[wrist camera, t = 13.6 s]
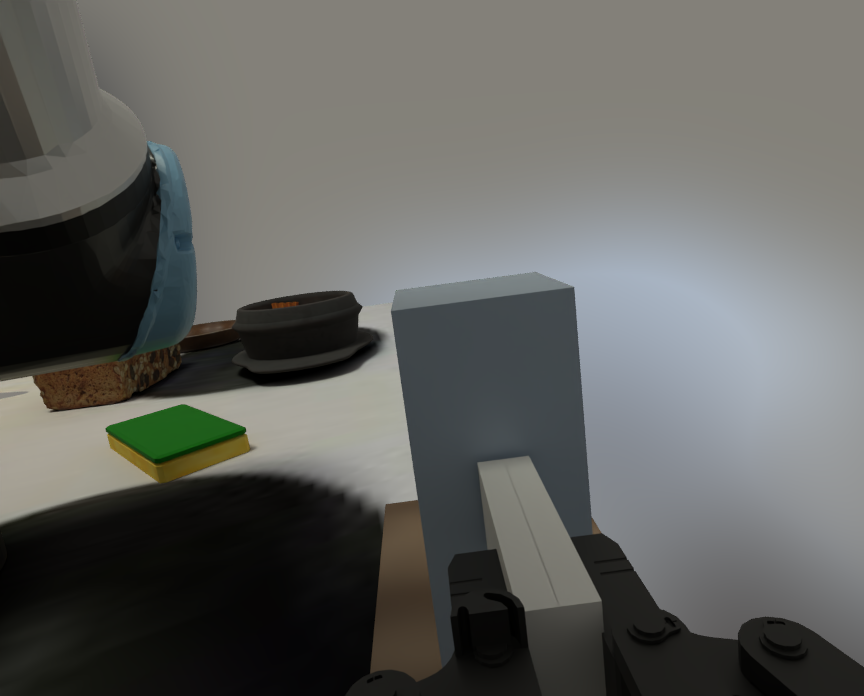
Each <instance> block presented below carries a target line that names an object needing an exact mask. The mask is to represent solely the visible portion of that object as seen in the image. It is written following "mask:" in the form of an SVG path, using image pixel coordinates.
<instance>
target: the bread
mask: <svg viewBox="0 0 864 696" xmlns="http://www.w3.org/2000/svg"><path fill="white" fill-rule="evenodd" d="M180 349H181V347H180V344H179V343H177V344H175V345H173V346H170V347H167V348H163V349H159V350H155V351H151V352H147V353H143V354H139V355H135V356H133V357H132V358H130V359H128V360H126V361H121V362H118V361H114V362H108V363H103V364H97V365H91V366H86V367H80V368H74V369H68V370H63V371H57V372H51V373H46V374H40V375H34V376H32V377H33V379H34V383H35V384H36V386H37V387H38V388H39V389H40V391H41V393H40V396H41V397H42V398H43V402H44V404H45V405H46V406H47V408H49V409H56V410H66V409H74V408H82V407H89V406H98V405H107V404H115V403H118V402H120V401H123V400H127V399H130V397H131V395H132V393H134V392H141V391H143V390H144V389H147V388H148V387H149V386H151V385H153V384H155V383H157V382H159V381H160V380H162V379H164V378H165V377H167V375H168V374H169V373H171V371H174V370H175V369H178V368H179V367H180V364H181V356H180Z"/></svg>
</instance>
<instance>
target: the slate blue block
mask: <svg viewBox="0 0 864 696" xmlns="http://www.w3.org/2000/svg"><path fill="white" fill-rule="evenodd" d="M391 315H392V322H393V328H394V335H395V342H396V349H397V356H398V363H399V370H400V377H401V384H402V391H403V398H404V405H405V412H406V419H407V426H408V433H409V440H410V447H411V454H412V461H413V468H414V475H415V482H416V489H417V496H418V503H419V510H420V517H421V524H422V531H423V538H424V545H425V552H426V559H427V566H428V573H429V580H430V587H431V594H432V601H433V608H434V615H435V622H436V629H437V636H438V642H439V649H440V656H441V663H442V668H443V667H444V666H445V665H446V664H447V663H448V661H449V660H450V659H451V657H452V655H453V652H454V650H455V649H454V642H453V634H452V627H451V620H450V615H451V610H452V607H451V597H450V587H449V577H448V566H449V564H450V563H451V561H452V559H453V557H454V555H455V554H461V553H468V552H476V551H483V550H488V549H487V541H486V532H485V524H484V515H483V507H482V499H481V490H480V482H479V473H478V465H477V462H485V461H492V460H500V459H507V458H515V457H522V456H529V457H530V459H531V461H532V463H533V465H534V467H535V469H536V471H537V473H538V475H539V477H540V479H541V481H542V483H543V485H544V487H545V489H546V491H547V493H548V495H549V497H550V499H551V501H552V503H553V505H554V507H555V509H556V511H557V513H558V515H559V517H560V519H561V521H562V523H563V525H564V527H565V529H566V531H567V533H568V535H569V537H576V536H584V535H592V534H593V532H592V518H591V505H590V492H589V479H588V466H587V452H586V439H585V426H584V413H583V399H582V385H581V373H580V359H579V346H578V332H577V320H576V306H575V293H574V287H573V286H570V285H568V284H565V283H562V282H560V281H557V280H555V279H552V278H549V277H546V276H544V275H542V274H539V273H536V272H533V273H525V274H518V275H510V276H502V277H495V278H487V279H479V280H472V281H465V282H457V283H449V284H442V285H434V286H426V287H419V288H411V289H404V290H396V292H395V296H394V300H393V305H392V309H391Z"/></svg>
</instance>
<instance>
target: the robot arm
mask: <svg viewBox="0 0 864 696" xmlns="http://www.w3.org/2000/svg"><path fill="white" fill-rule="evenodd" d="M192 238H193V236H192V218H191V211H190V205H189V199H188V193H187V188H186V183H185V179H184V175H183V172H182V168H181V166H180V163H179V160H178V158H177V155H176V154H175V152H174V151H173V150H172V149H171V148H169V147H168V146H165V145H160V144H156V143H153V142H151V141H150V142H149V141H147V139H146V135H145V132H144V129H143V126H142V124H141V123H140V121H139V120H138V118H137V116H136V115H135V114H134V113H133V111H132V110H131V109H130V108H128V107H127V106H126V105H125V104H124V103H123V102H121V101H120V100H118V99H117V98H115V97H114V96H112V95H111V94H109V93H107V92H105V91H104V90H102V89H100V88H99V86H98V82H97V78H96V74H95V70H94V66H93V63H92V58H91V54H90V50H89V46H88V42H87V39H86V35H85V31H84V27H83V23H82V19H81V15H80V12H79V7H78V3H77V0H0V381H6V380H11V379H17V378H23V377H28V376H34V375H40V374H46V373H51V372H57V371H63V370H68V369H74V368H80V367H86V366H91V365H97V364H103V363H108V362H114V361H118V362H121V361H126V360H128V359H130V358H132V357H133V356H135V355H139V354H143V353H147V352H151V351H155V350H159V349H163V348H167V347H170V346H173V345H175V344H177V343H179V342H180V341H182V340H183V339H184V338H185V337H186V336H187V334H188V333H189V331H190V330H191V327H192V325H193V322H194V318H195V312H196V299H197V274H196V260H195V251H194V247H193V244H192V242H191V241H192ZM477 465H478V473H479V482H480V490H481V499H482V507H483V515H484V524H485V532H486V541H487V549H488V550H483V551H476V552H468V553H461V554H455V555H454V557H453V559H452V561H451V563H450V564H449V566H448V577H449V587H450V597H451V607H452V610H451V615H450V620H451V627H452V634H453V642H454V649H455V650H454V652H453V655H452V657H451V659H450V660H449V661H448V663H447V664H446V665H445V666H444V667H443V668H442V669H440V670H439V671H438V672H437V673H435V674H433V675H431V676H429V677H427V678H425V679H422V680H420V681H418V682H416V681H415V679H414V678H412V677H411V676H409V675H408V674H406V673H405V672H401V671H397V670H392V669H391V670H381V671H376V672H373V673H371V674H368V675H366V676H363V677H362V678H361V679H360V680H358V681H357V682H356V683H355V684H353V685H352V686H351V688H350V689H349V691H348V692H347V694H346V695H345V696H864V667H863V666H861V665H860V664H858V663H857V662H856V661H854V660H853V659H851V658H850V657H849V656H847V655H846V654H844V653H843V652H842V651H840V650H839V649H837V648H836V647H835V646H833V645H832V644H830V643H829V642H828V641H826V640H825V639H823V638H822V637H821V636H819V635H818V634H816V633H815V632H813V631H812V630H810V629H808V628H806V627H804V626H803V625H801V624H799V623H796V622H793V621H789V620H786V619H783V618H774V617H761V618H755V619H751V620H749V621H747V622H746V623H744V624H743V625H742V626H741V629H740V630H739V633H738V640H733V639H723V638H713V637H707V636H701V635H697V634H694V633H691V632H690V631H689V630H688V628H687V627H686V626H685V625H684V623H682V621H680V620H679V619H678V618H677V617H676V616H674V615H672V614H670V613H668V612H666V611H665V610H661V609H659V607H658V606H657V604H656V603H655V601H654V599H653V598H652V596H651V595H650V593H649V592H648V590H647V589H646V587H645V585H644V584H643V582H642V581H641V579H640V578H639V576H638V575H637V573H636V572H635V571H634V569H633V567H632V565H631V564H630V562H629V560H627V558H626V556H625V554H624V553H623V551H622V550H621V548H620V546H619V545H618V544H617V543H616V542H614V541H613V540H611V539H610V538H608V537H607V536H605V535H604V534H602V533H599V534H592V535H584V536H576V537H569V535H568V533H567V531H566V529H565V527H564V525H563V523H562V521H561V519H560V517H559V515H558V513H557V511H556V509H555V507H554V505H553V503H552V501H551V499H550V497H549V495H548V493H547V491H546V489H545V487H544V485H543V483H542V481H541V479H540V477H539V475H538V473H537V471H536V469H535V467H534V465H533V463H532V461H531V459H530V457H529V456H522V457H515V458H507V459H500V460H492V461H485V462H477ZM6 558H7V550H6V547H5V544H4V540H3V537H2V534H1V531H0V571H1V569H2V567H3V566H4V564H5V561H6Z"/></svg>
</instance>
